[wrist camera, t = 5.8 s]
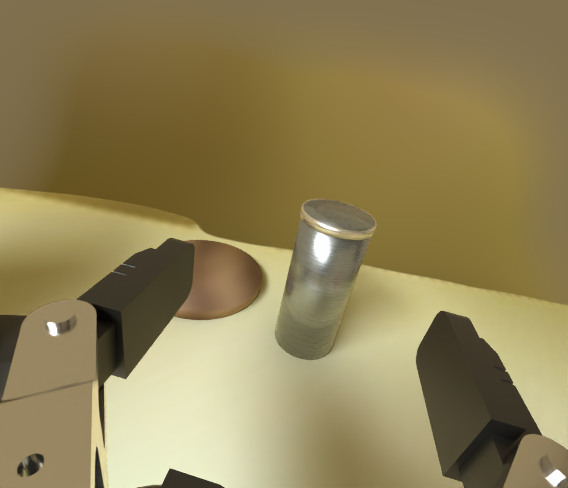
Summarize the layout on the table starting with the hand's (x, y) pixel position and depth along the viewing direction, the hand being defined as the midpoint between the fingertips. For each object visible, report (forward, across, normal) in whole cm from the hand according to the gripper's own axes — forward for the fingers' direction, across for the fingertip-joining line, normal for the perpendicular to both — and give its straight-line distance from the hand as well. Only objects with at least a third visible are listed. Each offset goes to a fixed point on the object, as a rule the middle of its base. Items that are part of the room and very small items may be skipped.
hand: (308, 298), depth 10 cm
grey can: (+13, +1, -14) cm, 19 cm away
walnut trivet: (+17, -10, -14) cm, 24 cm away
